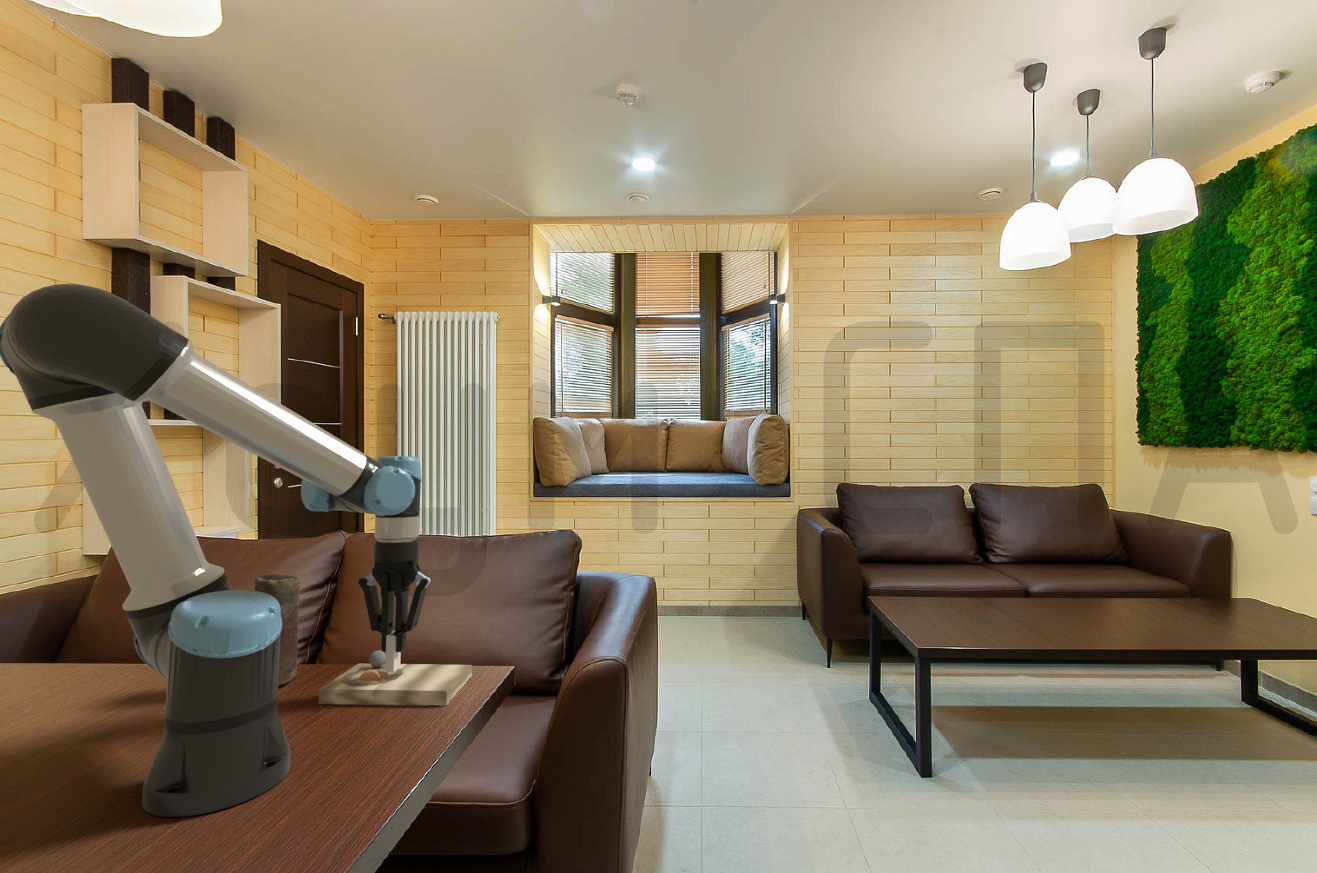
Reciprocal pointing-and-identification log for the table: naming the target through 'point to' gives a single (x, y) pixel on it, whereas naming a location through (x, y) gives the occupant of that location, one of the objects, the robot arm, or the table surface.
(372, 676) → the orange ball
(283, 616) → the candle
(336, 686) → the board
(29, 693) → the table surface
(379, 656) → the grey ball
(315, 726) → the table surface
